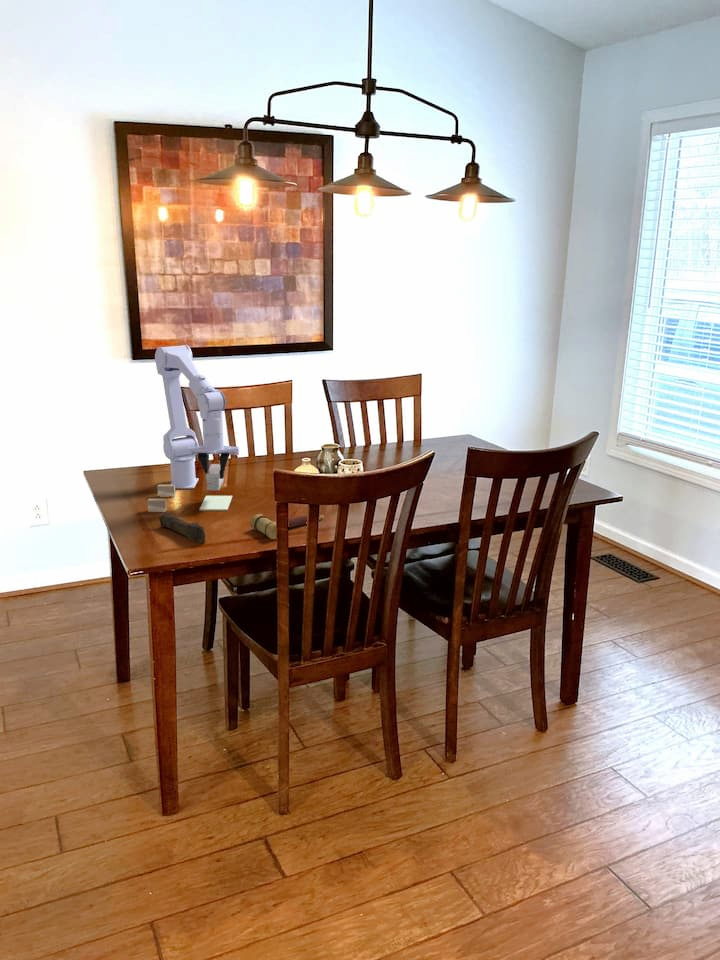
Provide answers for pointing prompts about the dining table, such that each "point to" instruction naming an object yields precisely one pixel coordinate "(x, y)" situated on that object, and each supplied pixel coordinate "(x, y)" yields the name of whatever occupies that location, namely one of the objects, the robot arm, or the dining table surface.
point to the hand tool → (183, 527)
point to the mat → (216, 503)
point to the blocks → (160, 504)
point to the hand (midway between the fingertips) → (215, 477)
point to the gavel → (274, 524)
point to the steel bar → (214, 477)
